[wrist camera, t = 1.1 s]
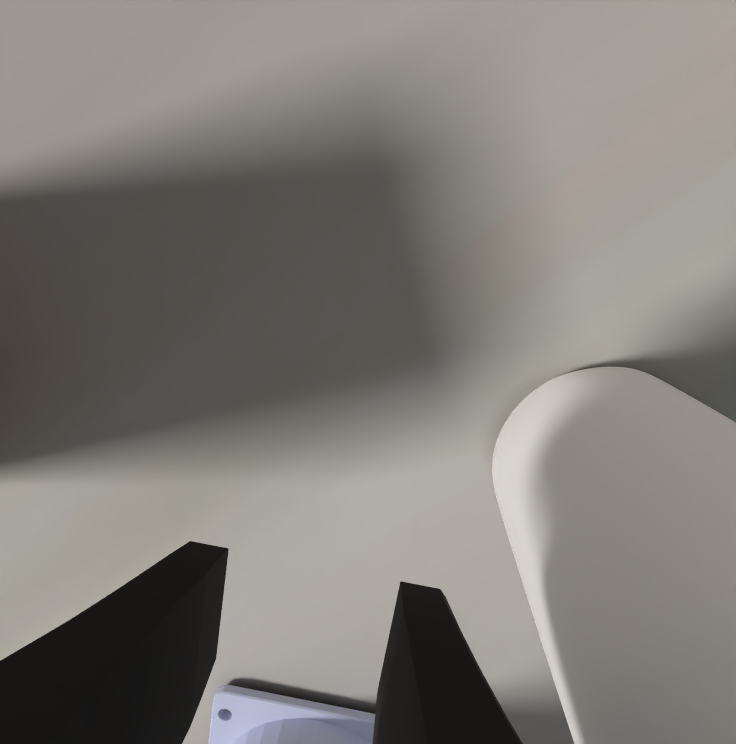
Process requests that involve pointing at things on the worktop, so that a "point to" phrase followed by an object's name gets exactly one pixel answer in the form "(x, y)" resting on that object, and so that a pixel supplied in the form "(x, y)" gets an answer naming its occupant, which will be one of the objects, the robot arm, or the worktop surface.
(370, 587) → the worktop surface
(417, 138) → the worktop surface
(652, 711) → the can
